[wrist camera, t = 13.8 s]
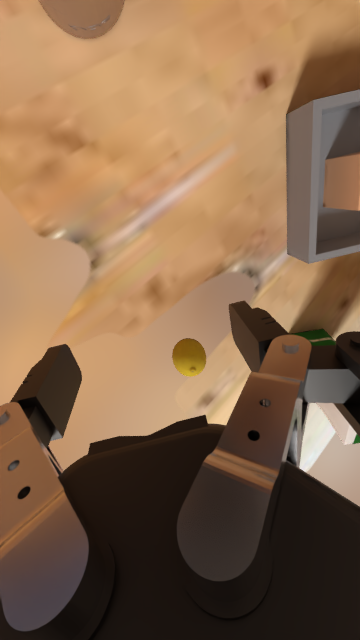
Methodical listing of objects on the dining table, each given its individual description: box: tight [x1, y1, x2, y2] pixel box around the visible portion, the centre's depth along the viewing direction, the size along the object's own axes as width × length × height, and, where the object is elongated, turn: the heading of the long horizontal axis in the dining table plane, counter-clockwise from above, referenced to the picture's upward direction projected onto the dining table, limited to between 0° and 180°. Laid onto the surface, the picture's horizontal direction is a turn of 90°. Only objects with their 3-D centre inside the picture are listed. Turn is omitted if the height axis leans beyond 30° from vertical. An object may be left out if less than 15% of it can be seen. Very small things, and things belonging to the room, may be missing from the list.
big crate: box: [286, 89, 360, 264], centre depth 34 cm, size 18×16×6 cm
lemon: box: [172, 338, 206, 376], centre depth 43 cm, size 6×6×8 cm
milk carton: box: [290, 329, 360, 445], centre depth 41 cm, size 9×9×20 cm
